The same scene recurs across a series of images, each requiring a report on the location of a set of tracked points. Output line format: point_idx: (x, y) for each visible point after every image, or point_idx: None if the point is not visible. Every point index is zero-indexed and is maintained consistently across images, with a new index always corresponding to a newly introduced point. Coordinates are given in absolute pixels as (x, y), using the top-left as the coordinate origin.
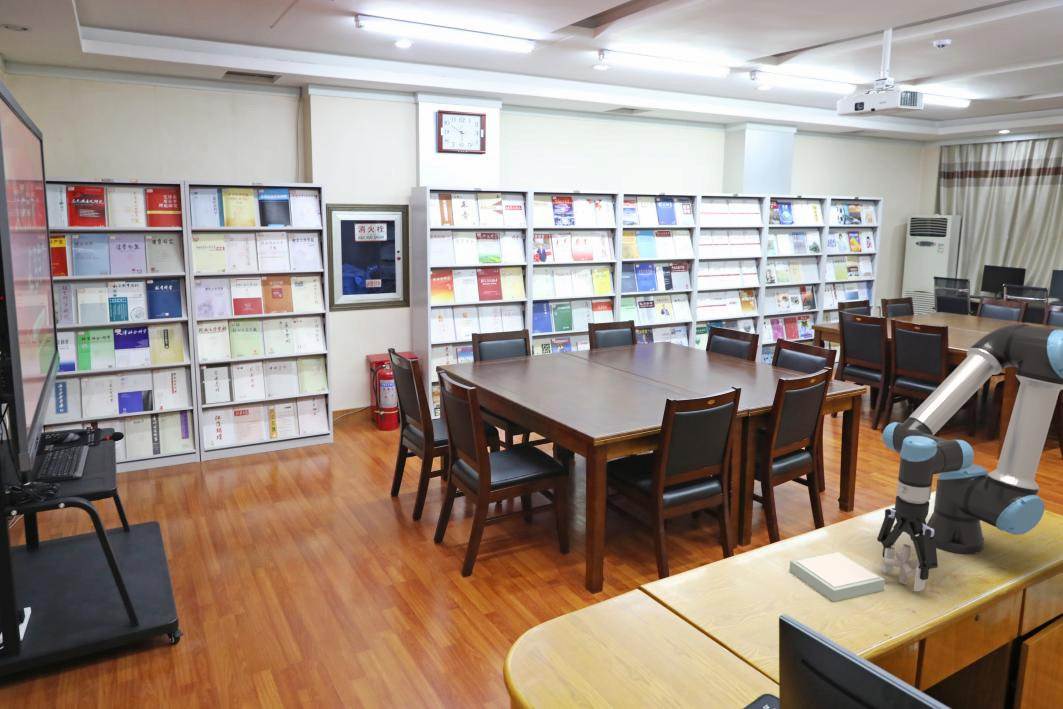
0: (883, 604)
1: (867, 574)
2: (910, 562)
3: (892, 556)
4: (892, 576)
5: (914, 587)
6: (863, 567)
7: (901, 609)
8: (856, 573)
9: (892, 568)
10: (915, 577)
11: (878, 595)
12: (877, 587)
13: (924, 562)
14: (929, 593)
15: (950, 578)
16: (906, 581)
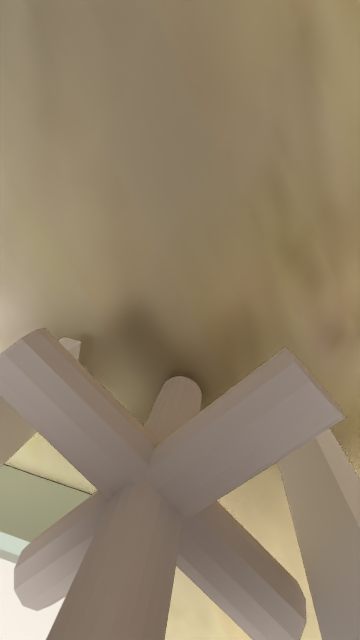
0: (234, 622)
1: None
2: (193, 509)
3: (5, 408)
4: (107, 357)
5: (284, 476)
6: (4, 541)
7: (308, 614)
8: (37, 636)
9: (72, 351)
10: (300, 544)
11: (179, 571)
12: None
13: (306, 417)
14: (337, 378)
15: (356, 23)
16: (200, 401)
